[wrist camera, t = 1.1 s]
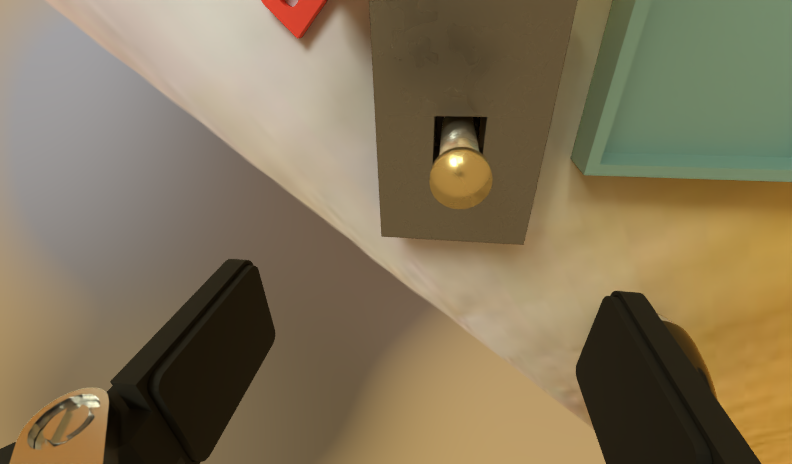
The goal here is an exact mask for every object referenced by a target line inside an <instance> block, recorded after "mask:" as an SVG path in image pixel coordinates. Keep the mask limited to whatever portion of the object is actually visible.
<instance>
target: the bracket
mask: <svg viewBox="0 0 792 464" xmlns="http://www.w3.org/2000/svg"><path fill="white" fill-rule="evenodd" d="M261 1H262V2H263V4H264V5H265V6H266V7H267V8H268V9H269V10H270V11H271V12H272V13H273V14H274V15H275V16H276V17H277V18H278V19H279V20H280V21H281V22H282V23H283V24H284V25H285V26H286V27H287V28H288V29H289V30H290V31H291V32H292V34H293V35H294V36H295V37H296V38H297V39H298V38H302V37H303V35H304V34H305V32H306V31H307V29H308V28H309V26H310V25H311V23H312V22H313V21H314V19H315V18H316V16H317V15H318V13H319V12H320V10H321V9H322V8H323V6H324V5H325V3H326V2H327V0H299V1H298V3H297V4H296V5H295V6H294V7H291V6H289V5H288V4H287V3H286V1H285V0H261Z"/></svg>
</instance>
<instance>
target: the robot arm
mask: <svg viewBox="0 0 792 464" xmlns="http://www.w3.org/2000/svg"><path fill="white" fill-rule="evenodd" d="M274 339H275V329H274V325H273V322H272V318H271V314H270V311H269V307H268V303H267V300H266V296H265V292H264V289H263V285H262V281H261V278H260V274H259V270H258V268H257V267H256V266H253V263H252V262H251V261H249V260H239V259H228V260H227V261H225V263H223V265H222V266H221V267H220V268H219V269H218V270H217V271H216V272H215V273H214V274H213V275H212V276H211V277H210V278H209V279H208V280H207V281H206V282H205V283H204V284H203V285H202V286H201V287H200V289H199V290H198V291H197V292H196V293H195V294H194V295H193V296H192V297H191V298H190V299H189V300H188V301H187V302H186V303H185V304H184V305H183V306H182V307H181V308H180V309H179V311H178V312H177V313H176V314H175V315H174V316H173V317H172V318H171V319H170V320H169V321H168V322H167V323H166V324H165V325H164V326H163V327H162V328H161V329H160V330H159V331H158V332H157V333H156V334H155V335H154V337H152V339H151V340H150V341H149V342H148V343H147V344H146V345H145V346H144V347H143V348H142V349H141V350H140V351H139V352H138V353H137V354H136V355H135V356H134V357H133V358H132V359H131V360H130V362H129V363H128V364H127V365H126V366H125V367H124V368H123V369H122V370H121V371H120V372H119V373H118V374H117V375H116V376H115V377H114V378H113V379H112V380H111V384H112V385H113V386H112V387H111V388H110V389H109V390H108V391H107V393H106V392H105V391H104V390H103V389H99V388H83V389H79V390H76V391H72V392H70V393H68V394H66V395H63V396H61V397H59V398H57V399H56V400H54V401H53V402H51V403H49V404H48V405H46V406H45V407H43V408H42V409H41V410H40V411H39V412H38V413H36V414H35V415H34V416H33V417H32V418H31V419H30V420H29V421H28V423H27V424H26V425H25V426H24V427H23V429H22V431H21V432H20V434H19V436H18V439H17V441H16V442H14V443H12V444H10V445H8V446H6V447H4V448H1V449H0V464H200V462H202V461H205V460H206V459H207V458H208V457H209V456H210V454H211V452H212V451H213V449H214V447H215V445H216V444H217V442H218V440H219V438H220V437H221V435H222V433H223V431H224V429H225V428H226V426H227V424H228V422H229V420H230V419H231V417H232V415H233V414H234V412H235V410H236V408H237V406H238V405H239V403H240V401H241V399H242V397H243V395H244V394H245V392H246V391H247V389H248V387H249V385H250V383H251V382H252V380H253V378H254V376H255V374H256V373H257V371H258V369H259V368H260V366H261V364H262V362H263V360H264V359H265V357H266V355H267V353H268V352H269V350H270V348H271V346H272V345H273V342H274ZM576 377H577V380H578V383H579V386H580V389H581V392H582V395H583V398H584V401H585V404H586V407H587V410H588V413H589V415H590V418H591V421H592V424H593V427H594V430H595V433H596V436H597V439H598V442H599V445H600V447H601V450H602V453H603V456H604V459H605V462H606V464H761V462H760V461H759V460H758V458H757V457H756V455H755V454H754V452H753V451H752V450H751V448H750V447H749V445H748V444H747V442H746V441H745V439H744V438H743V437H742V435H741V434H740V432H739V431H738V429H737V428H736V427H735V425H734V424H733V422H732V421H731V419H730V418H729V416H728V415H727V414H726V412H725V411H724V409H723V408H722V406H721V405H720V403H719V402H718V401H717V399H716V398H715V396H714V395H713V393H712V392H711V391H710V389H709V388H708V386H707V385H706V383H705V382H704V380H703V379H702V378H701V376H700V375H699V373H698V372H697V370H696V369H695V368H694V366H693V365H692V363H691V362H690V360H689V359H688V357H687V356H686V355H685V353H684V352H683V350H682V349H681V347H680V346H679V345H678V343H677V342H676V340H675V339H674V337H673V336H672V334H671V333H670V332H669V330H668V329H667V327H666V326H665V324H664V323H663V322H662V320H661V319H660V317H659V316H658V314H657V313H656V311H655V310H654V309H653V307H652V306H651V304H650V303H649V301H648V300H647V299H646V297H645V296H644V295H643V294H641V293H635V292H623V291H614V292H613V293H612V294H611V295H610V296H605V297H604V299H603V300H602V303H601V305H600V308H599V310H598V313H597V315H596V318H595V320H594V323H593V325H592V328H591V330H590V333H589V335H588V338H587V340H586V342H585V345H584V347H583V350H582V352H581V355H580V357H579V360H578V362H577V365H576Z"/></svg>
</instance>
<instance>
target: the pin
mask: <svg viewBox="0 0 792 464" xmlns="http://www.w3.org/2000/svg"><path fill="white" fill-rule="evenodd" d="M492 180H493V179H492V172H491V168H490V165H489V162H488V161H487V159H486V158H485V156H484V155H483V154H482V153H480V152H479V147H478V142H477V137H476V131H475V126H474V121H473V118H472V117H466V116H445V117H444V119H443V122H442V131H441V143H440V154H439V156H438V157H437V159H436V160H435V161H434V163H433V165H432V168H431V172H430V180H429V182H430V189H431V192H432V194H433V196H434V197H435V198H436V199H437V201H439V202H440V203H441V204H443V205H444V206H446V207H449V208H453V209H467V208H471V207H473V206H475V205H477V204H479V203H480V202H482V201H483V200H484V199H485V198H486V197H487V195H488V194H489V192H490V190H491V187H492Z"/></svg>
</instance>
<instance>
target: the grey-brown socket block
mask: <svg viewBox="0 0 792 464" xmlns="http://www.w3.org/2000/svg"><path fill="white" fill-rule="evenodd" d="M577 1H578V0H374V1H369V9H370V28H371V47H372V65H373V84H374V103H375V122H376V141H377V160H378V178H379V197H380V216H381V235H382V236H383V237H400V238H417V239H434V240H451V241H468V242H485V243H502V244H519V245H524V241H525V236H526V232H527V227H528V223H529V218H530V214H531V209H532V204H533V200H534V195H535V191H536V186H537V182H538V177H539V173H540V168H541V164H542V159H543V155H544V150H545V146H546V141H547V136H548V132H549V127H550V123H551V118H552V114H553V109H554V105H555V100H556V96H557V91H558V87H559V82H560V78H561V73H562V69H563V64H564V59H565V55H566V50H567V46H568V41H569V37H570V32H571V28H572V23H573V19H574V14H575V10H576V5H577ZM436 116H466V117H481V122H480V131H479V140H478V147H479V152H480V153H482V154H483V155H484V156H485V158H486V159H487V161H488V162H489V165H490V168H491V172H492V179H493V180H492V187H491V190H490V192H489V194H488V195H487V197H486V198H485V199H484V200H483V201H482V202H480V203H479V204H477V205H475V206H473V207H471V208H467V209H453V208H449V207H446V206H444V205H443V204H441V203H440V202H439V201H437V199H436V198H435V197H434V196H433V194H432V192H431V189H430V182H429V180H430V172H431V168H432V165H433V163H434V161H435V160H436V159H437V157H438V156H439V154H440V146H435V131H436Z"/></svg>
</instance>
